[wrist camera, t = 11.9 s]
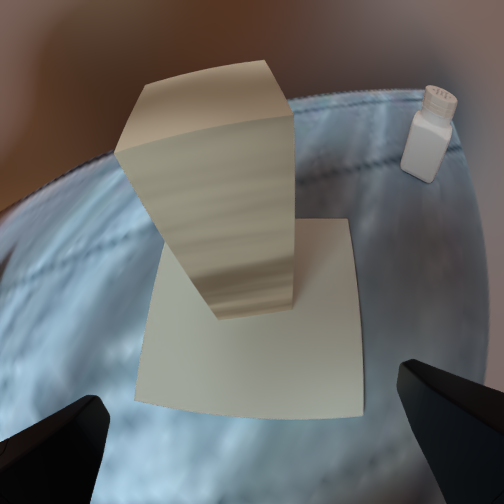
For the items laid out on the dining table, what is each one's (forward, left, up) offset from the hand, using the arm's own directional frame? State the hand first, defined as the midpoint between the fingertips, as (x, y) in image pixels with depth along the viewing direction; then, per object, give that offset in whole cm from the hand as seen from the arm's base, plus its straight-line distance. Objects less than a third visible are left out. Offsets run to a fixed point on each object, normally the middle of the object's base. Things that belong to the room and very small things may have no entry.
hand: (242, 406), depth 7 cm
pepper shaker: (+22, -16, -11) cm, 29 cm away
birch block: (+9, +2, -10) cm, 13 cm away
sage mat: (+7, +1, -10) cm, 13 cm away
